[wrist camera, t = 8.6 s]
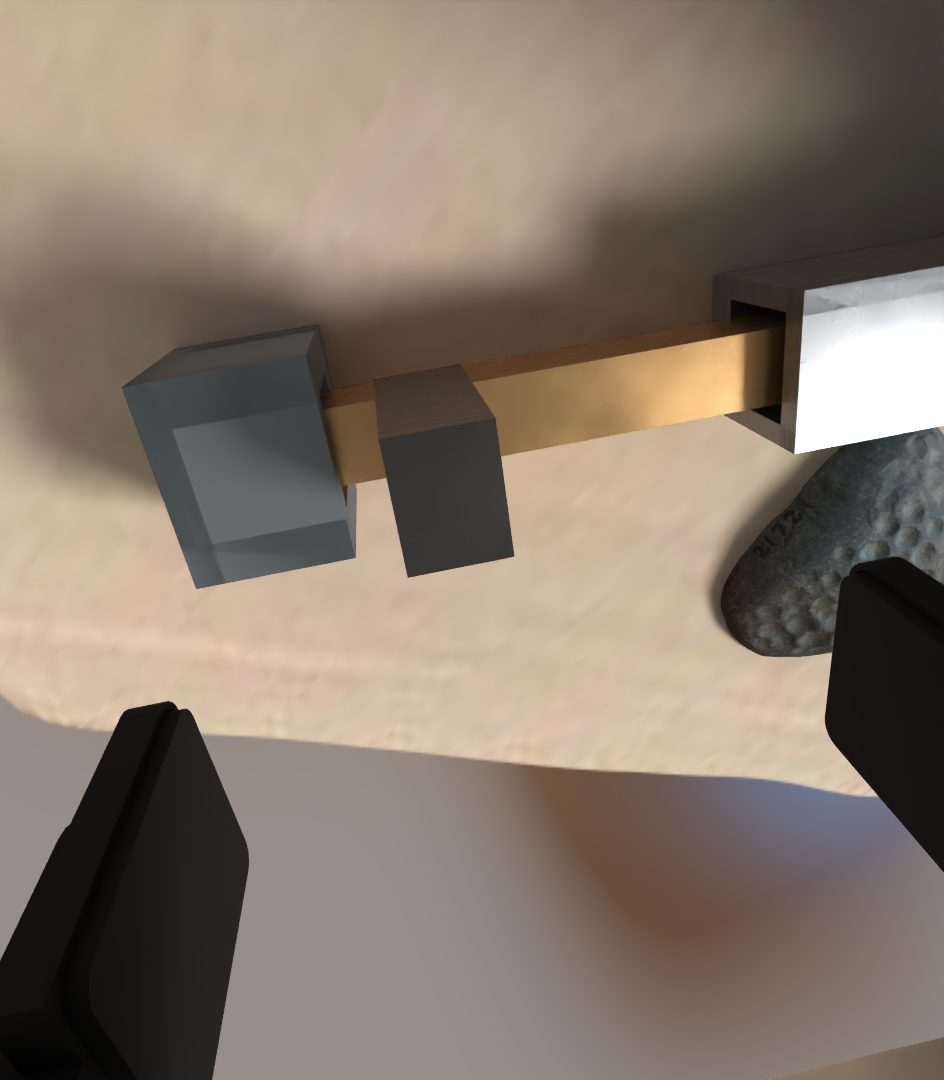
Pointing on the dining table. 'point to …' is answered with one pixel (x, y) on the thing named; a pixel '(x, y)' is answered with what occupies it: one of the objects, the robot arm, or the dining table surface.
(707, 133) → the dining table surface
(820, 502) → the fossil
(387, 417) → the tan bar piece
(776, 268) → the sleeve
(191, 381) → the socket
